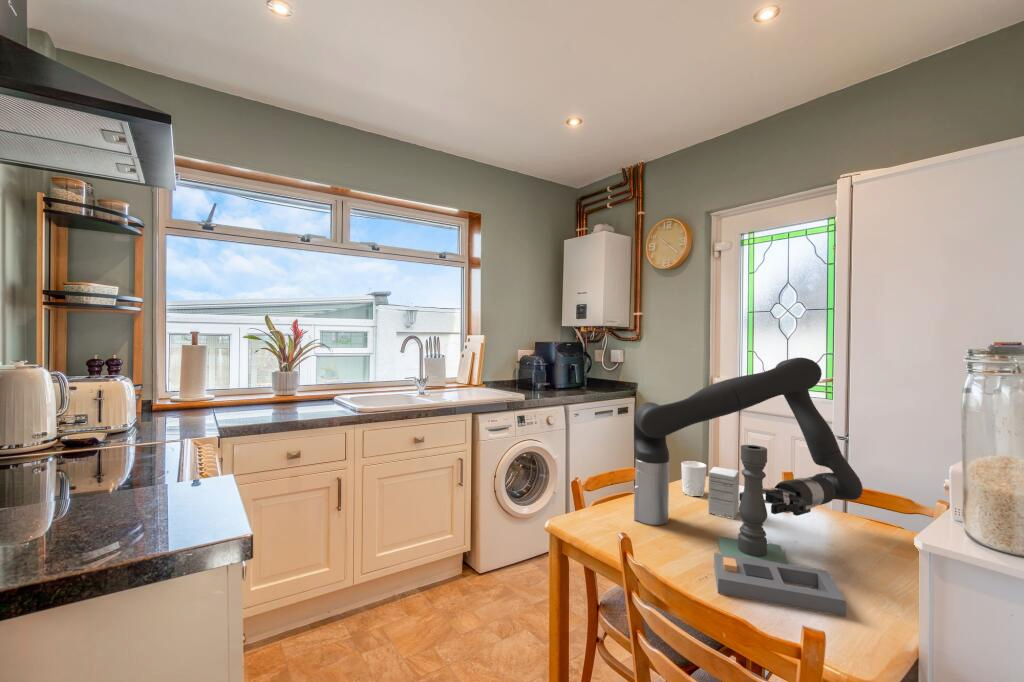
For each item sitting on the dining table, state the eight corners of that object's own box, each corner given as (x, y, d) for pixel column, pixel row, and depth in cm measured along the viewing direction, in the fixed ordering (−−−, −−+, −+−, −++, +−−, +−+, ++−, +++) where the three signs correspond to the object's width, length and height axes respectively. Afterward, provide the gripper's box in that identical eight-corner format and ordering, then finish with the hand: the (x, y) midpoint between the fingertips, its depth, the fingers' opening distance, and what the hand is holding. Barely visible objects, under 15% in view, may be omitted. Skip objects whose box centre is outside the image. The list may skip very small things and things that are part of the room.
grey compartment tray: (718, 593, 94) (718, 572, 94) (713, 565, 105) (714, 547, 105) (845, 616, 86) (846, 594, 86) (826, 584, 97) (826, 564, 97)
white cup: (676, 490, 157) (677, 461, 157) (698, 489, 158) (699, 460, 158) (687, 498, 149) (687, 467, 149) (710, 497, 150) (711, 467, 150)
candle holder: (770, 558, 107) (772, 451, 106) (742, 555, 108) (743, 449, 108) (761, 546, 113) (763, 445, 112) (734, 543, 114) (736, 443, 114)
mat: (722, 561, 107) (722, 557, 107) (718, 540, 118) (718, 536, 118) (790, 572, 102) (791, 568, 102) (779, 549, 113) (779, 545, 113)
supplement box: (713, 506, 142) (713, 466, 142) (739, 512, 138) (739, 470, 138) (707, 513, 136) (707, 471, 136) (734, 519, 132) (735, 476, 132)
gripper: (773, 472, 124) (731, 479, 117) (828, 488, 111) (784, 497, 104) (772, 499, 124) (730, 508, 117) (828, 518, 111) (784, 530, 104)
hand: (756, 503), depth 111 cm, fingers open, 8 cm apart
